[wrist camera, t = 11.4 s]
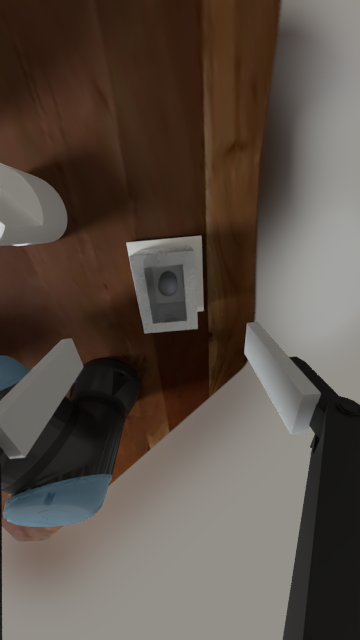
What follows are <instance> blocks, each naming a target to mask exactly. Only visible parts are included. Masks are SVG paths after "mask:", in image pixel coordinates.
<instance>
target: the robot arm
mask: <svg viewBox="0 0 360 640" xmlns="http://www.w3.org/2000/svg"><path fill="white" fill-rule="evenodd" d="M244 354H245V355H246V357H247V359H248V361H249V362H250V364H251V366H252V367H253V369H254V371H255V373H256V375H257V376H258V378H259V380H260V382H261V383H262V385H263V387H264V389H265V390H266V392H267V394H268V395H269V397H270V399H271V401H272V403H273V404H274V406H275V408H276V410H277V411H278V413H279V415H280V417H281V418H282V420H283V422H284V424H285V425H286V427H287V429H288V431H289V432H290V434H291V435H297V434H306V433H307V431H308V429H309V426H310V427H311V428H312V430H313V431H314V433H315V435H314V438H313V441H312V443H311V446H310V447H311V448H312V452H311V458H310V465H309V471H308V478H307V484H306V491H305V498H304V504H303V511H302V518H301V524H300V531H299V537H298V544H297V550H296V557H295V563H294V570H293V576H292V583H291V590H290V596H289V602H288V609H287V616H286V622H285V629H284V636H283V640H360V405H359V404H357V403H356V402H354V401H352V400H350V399H348V398H345V397H341V396H338V395H337V394H336V392H334V390H333V389H331V387H330V386H328V384H327V383H325V382H324V380H323V379H321V377H320V376H319V375H317V373H316V372H315V371H314V370H312V368H311V367H310V366H309V365H308V364H307V363H306V362H304V361H303V360H301V359H299V358H298V357H288V356H287V355H286V354H285V353H284V351H283V350H282V349H281V348H280V347H279V346H278V345H277V344H276V342H274V340H273V339H272V338H271V337H270V336H269V335H268V334H267V332H266V331H265V330H264V329H263V328H262V327H261V326H260V325H259V324H258V323H257V322H252V323H247V327H246V338H245V349H244ZM70 387H71V389H70ZM140 388H141V383H140V379H139V377H138V375H137V374H136V372H135V371H134V370H133V369H132V368H130V367H129V366H128V365H126V364H124V363H122V362H119V361H116V360H112V359H96V360H92V361H89V362H87V363H86V364H84V365H83V364H82V362H81V359H80V357H79V355H78V352H77V350H76V347H75V345H74V342H73V340H72V339H62V340H61V341H60V342H59V343H58V344H57V345H56V346H55V347H54V348H53V349H52V350H51V351H50V352H49V353H48V354H47V355H46V356H45V357H44V358H43V359H42V360H41V361H40V362H39V363H38V364H37V365H36V366H35V367H34V368H33V369H32V370H31V369H28V368H27V367H25V366H24V365H22V364H21V363H19V362H18V361H16V360H15V359H13V358H12V357H9V356H0V640H2V538H1V537H2V532H1V531H2V513H1V490H2V491H4V492H6V493H8V494H10V495H11V498H9V499H8V500H7V502H6V503H5V508H4V511H3V517H4V518H5V519H7V521H8V522H11V523H13V524H17V525H22V526H31V527H53V526H63V525H69V524H74V523H77V522H81V521H84V520H86V519H88V518H90V517H92V516H93V515H94V514H95V513H97V512H98V510H99V509H100V508H101V506H102V504H103V502H104V499H105V495H106V492H107V489H108V486H109V482H110V481H111V479H112V473H113V469H114V465H115V460H116V456H117V452H118V448H119V443H120V439H121V435H122V431H123V426H124V422H125V419H126V417H127V416H128V414H129V412H130V411H131V409H132V408H133V406H134V404H135V403H136V401H137V400H138V397H139V393H140ZM69 389H70V395H69V399H68V398H67V397H66V396H65V395H66V394H67V392H68V390H69Z"/></svg>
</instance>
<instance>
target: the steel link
mask: <svg viewBox="0 0 360 640" xmlns="http://www.w3.org/2000/svg"><path fill="white" fill-rule="evenodd" d="M129 258H130V263H131V268H132V273H133V278H134V283H135V288H136V293H137V298H138V303H139V308H140V313H141V318H142V323H143V328H144V333H156V332H167V331H178V330H189V329H198V318H197V297H196V275H195V254H194V250H193V248H192V247H191V246H190V245H185V246H174V247H163V248H153V249H142V250H139V251H137V252H135V253H134V254H132V255H131V256H129ZM179 264H181V265H182V278H183V290H184V301H181V302H170V303H159V304H157V298H156V292H155V285H154V278H153V271H152V267H157V266H168V265H179Z"/></svg>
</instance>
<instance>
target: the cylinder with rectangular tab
mask: <svg viewBox="0 0 360 640" xmlns="http://www.w3.org/2000/svg"><path fill="white" fill-rule="evenodd" d="M66 227H67V212H66V208H65V205H64V203H63V201H62V199H61V197H60V196H59V194H58V193H57V192H56V191H55V189H54V188H53V187H52V186H51V185H49V184H48V183H47V182H46V181H44V180H42V179H40V178H38V177H36V176H33V175H31V174H28V173H25V172H23V171H20V170H18V169H15V168H12V167H10V166H7V165H4V164H2V163H0V246H5V245H14V246H22V245H32V244H40V243H49V242H54V241H56V240H58V239H59V238H60V237H61V236H62V235H63V234H64V232H65V230H66Z"/></svg>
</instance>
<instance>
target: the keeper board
mask: <svg viewBox="0 0 360 640" xmlns="http://www.w3.org/2000/svg"><path fill="white" fill-rule="evenodd" d="M126 244H127V249H128V254H129V256H131V255H132V254H134V253H135V252H137V251H139V250H142V249H153V248H163V247H174V246H185V245H190V246H191V247H192V248H193V250H194V254H195V275H196V297H197V312H198V311H204V302H203V266H202V236H190V237H179V238H168V239H157V240H146V241H135V242H127V243H126ZM129 259H130V258H129ZM130 264H131V263H130ZM131 270H132V268H131ZM152 271H153V278H154V285H155V292H156V298H157V304H159V303H170V302H181V301H184V290H183V278H182V265H181V264H179V265H168V266H157V267H152ZM132 275H133V273H132ZM133 280H134V278H133ZM134 285H135V283H134ZM135 290H136V288H135ZM136 295H137V293H136ZM137 300H138V298H137ZM138 305H139V303H138ZM139 310H140V308H139ZM140 315H141V313H140Z"/></svg>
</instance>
